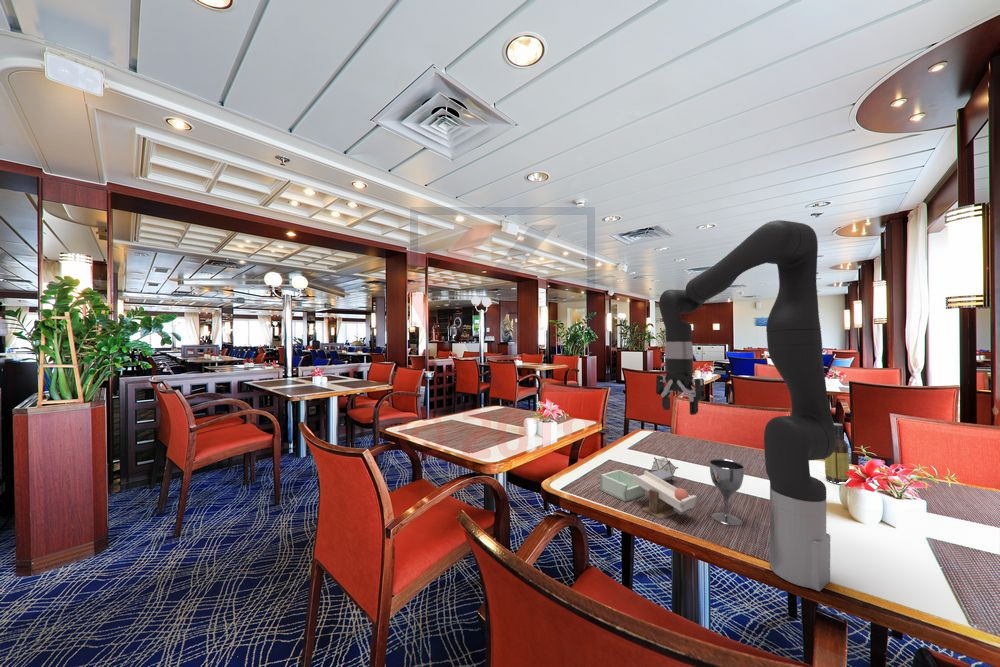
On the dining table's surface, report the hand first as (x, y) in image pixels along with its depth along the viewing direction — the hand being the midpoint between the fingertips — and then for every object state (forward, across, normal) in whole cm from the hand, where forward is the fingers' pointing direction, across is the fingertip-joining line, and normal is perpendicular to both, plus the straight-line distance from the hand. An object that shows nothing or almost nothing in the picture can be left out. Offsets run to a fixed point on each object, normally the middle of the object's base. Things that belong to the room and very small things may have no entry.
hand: (679, 412), depth 108 cm
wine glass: (+28, -10, -4) cm, 30 cm away
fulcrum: (+28, +1, +7) cm, 28 cm away
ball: (+21, -5, +7) cm, 23 cm away
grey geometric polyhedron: (+27, +15, -12) cm, 33 cm away
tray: (+27, +15, +8) cm, 32 cm away
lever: (+24, +1, +3) cm, 24 cm away
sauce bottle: (+28, -14, -64) cm, 71 cm away
